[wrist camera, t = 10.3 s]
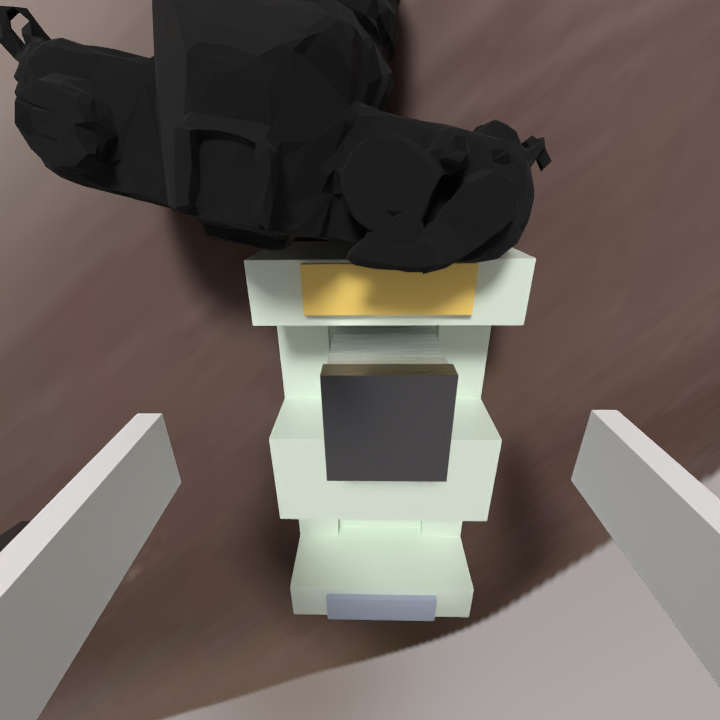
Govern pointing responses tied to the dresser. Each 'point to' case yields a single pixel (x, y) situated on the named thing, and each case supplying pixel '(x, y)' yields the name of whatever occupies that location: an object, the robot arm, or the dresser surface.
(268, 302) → the socket block
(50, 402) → the dresser surface
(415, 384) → the plug
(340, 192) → the film camera
